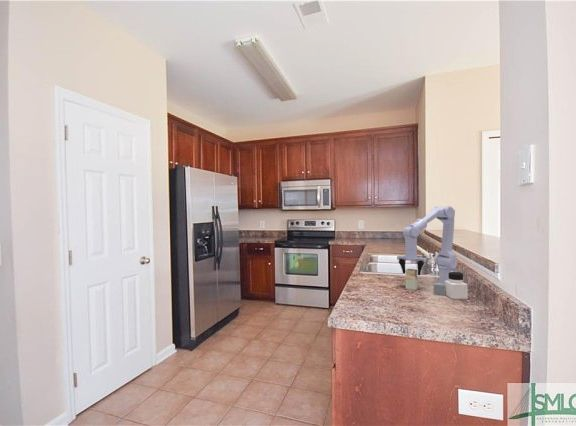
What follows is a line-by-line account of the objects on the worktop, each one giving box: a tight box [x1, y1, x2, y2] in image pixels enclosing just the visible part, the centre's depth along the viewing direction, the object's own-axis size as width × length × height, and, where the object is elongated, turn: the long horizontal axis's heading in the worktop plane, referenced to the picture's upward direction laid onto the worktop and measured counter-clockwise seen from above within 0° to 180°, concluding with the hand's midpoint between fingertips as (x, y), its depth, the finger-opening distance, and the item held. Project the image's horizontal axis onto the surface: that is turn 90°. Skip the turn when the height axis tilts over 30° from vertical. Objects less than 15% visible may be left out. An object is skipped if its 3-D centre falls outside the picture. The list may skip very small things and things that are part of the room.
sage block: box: [405, 278, 419, 291], centre depth 151 cm, size 5×5×5 cm
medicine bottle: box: [445, 270, 469, 300], centre depth 134 cm, size 7×7×12 cm
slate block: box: [433, 282, 446, 296], centre depth 140 cm, size 4×4×5 cm
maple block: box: [405, 268, 418, 280], centre depth 151 cm, size 4×4×5 cm
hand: (411, 274), depth 151 cm, fingers open, 7 cm apart
